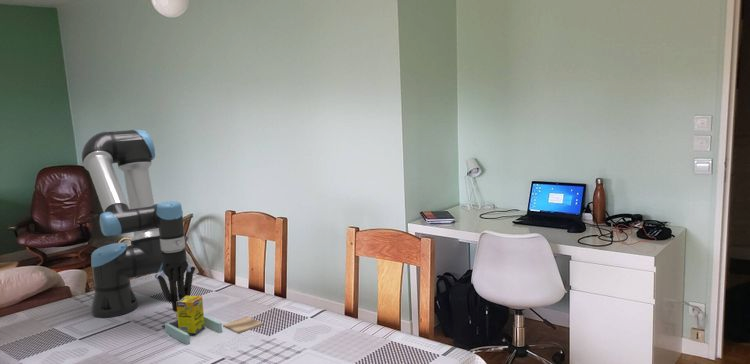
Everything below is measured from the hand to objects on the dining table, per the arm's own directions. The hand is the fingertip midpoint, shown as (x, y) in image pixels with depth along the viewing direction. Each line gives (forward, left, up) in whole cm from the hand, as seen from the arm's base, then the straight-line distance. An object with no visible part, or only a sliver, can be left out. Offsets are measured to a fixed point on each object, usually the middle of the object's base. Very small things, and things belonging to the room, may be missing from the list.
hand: (180, 319), depth 181 cm
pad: (+16, +13, -2) cm, 21 cm away
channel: (+8, 0, -2) cm, 9 cm away
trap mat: (-1, 0, -2) cm, 2 cm away
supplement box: (+7, 0, -2) cm, 8 cm away
